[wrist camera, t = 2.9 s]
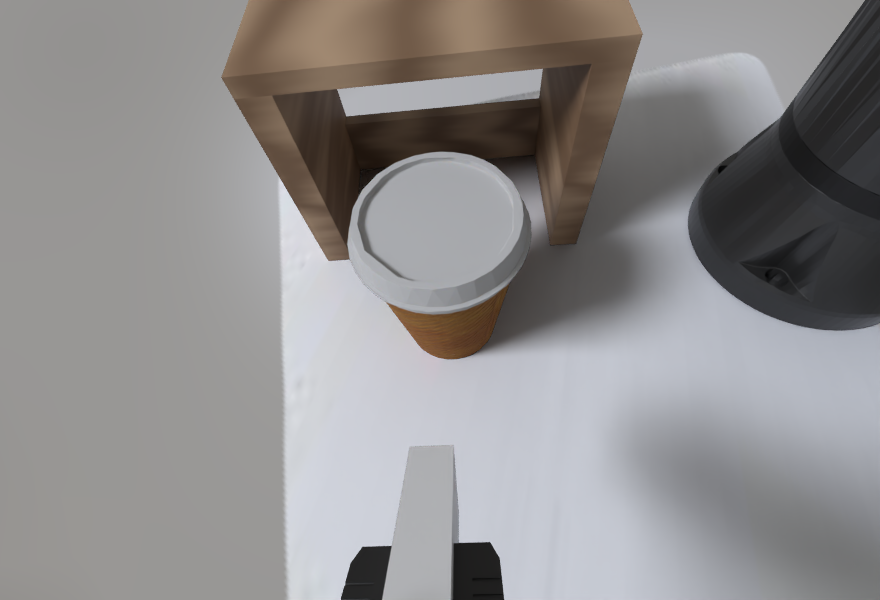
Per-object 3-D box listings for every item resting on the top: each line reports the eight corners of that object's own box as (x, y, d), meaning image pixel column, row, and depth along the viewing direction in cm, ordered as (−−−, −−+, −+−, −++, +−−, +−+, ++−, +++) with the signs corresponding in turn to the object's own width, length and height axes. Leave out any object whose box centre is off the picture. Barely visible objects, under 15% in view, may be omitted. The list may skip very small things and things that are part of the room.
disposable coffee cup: (375, 286, 33) (325, 175, 23) (490, 250, 34) (493, 126, 24) (406, 400, 29) (361, 326, 18) (538, 357, 29) (568, 261, 19)
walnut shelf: (555, 144, 39) (595, -77, 25) (575, 243, 34) (642, 33, 19) (340, 163, 40) (261, -36, 26) (328, 260, 35) (221, 77, 21)
